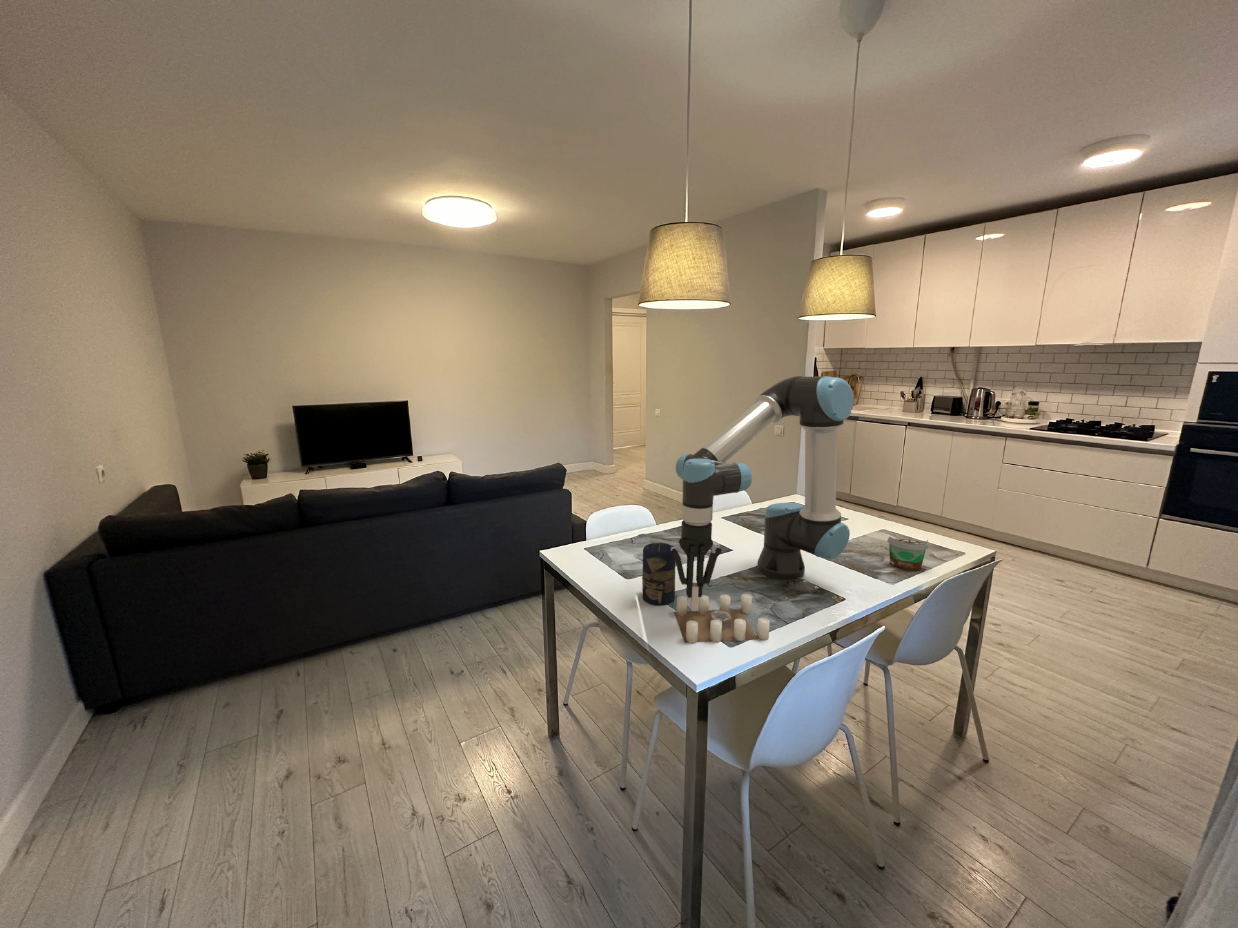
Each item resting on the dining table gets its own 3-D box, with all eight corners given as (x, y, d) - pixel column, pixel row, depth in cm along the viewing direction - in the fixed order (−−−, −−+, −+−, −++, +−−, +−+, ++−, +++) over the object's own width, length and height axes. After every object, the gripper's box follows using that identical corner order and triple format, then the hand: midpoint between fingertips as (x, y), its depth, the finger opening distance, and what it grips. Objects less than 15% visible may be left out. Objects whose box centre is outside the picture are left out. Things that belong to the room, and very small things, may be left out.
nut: (726, 618, 128) (726, 609, 128) (732, 629, 123) (733, 620, 122) (708, 619, 128) (708, 610, 127) (714, 630, 122) (714, 621, 122)
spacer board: (765, 612, 134) (765, 608, 134) (787, 642, 119) (787, 637, 119) (673, 615, 132) (673, 611, 132) (684, 646, 117) (684, 642, 117)
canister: (637, 606, 138) (638, 547, 134) (647, 591, 146) (648, 536, 143) (670, 611, 134) (671, 551, 131) (678, 596, 143) (679, 540, 139)
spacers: (749, 608, 134) (750, 593, 133) (770, 640, 118) (771, 623, 117) (675, 611, 132) (676, 596, 131) (687, 643, 117) (687, 626, 116)
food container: (887, 569, 161) (890, 541, 159) (884, 562, 166) (887, 535, 164) (930, 574, 156) (934, 546, 154) (925, 567, 162) (929, 539, 160)
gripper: (718, 516, 123) (714, 600, 128) (668, 516, 122) (666, 601, 127) (726, 525, 116) (722, 614, 120) (673, 526, 115) (671, 616, 120)
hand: (693, 608), depth 124 cm, fingers closed
